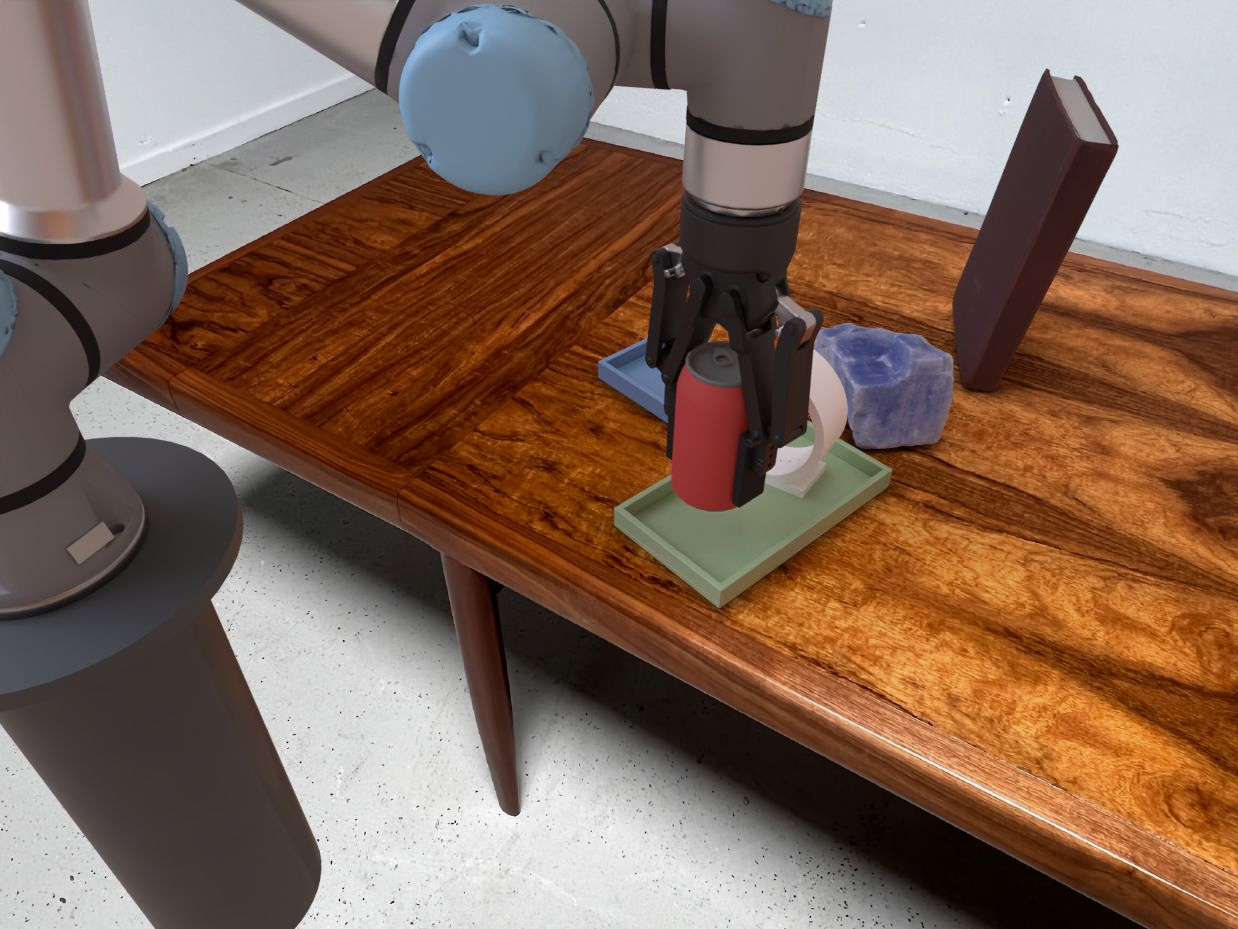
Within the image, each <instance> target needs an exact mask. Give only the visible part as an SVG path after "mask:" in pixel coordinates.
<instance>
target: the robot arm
mask: <svg viewBox="0 0 1238 929" xmlns="http://www.w3.org/2000/svg"><path fill="white" fill-rule="evenodd" d="M234 1H235V2H237V3H238V4H240V5H241V6H243V7H245V8H247V9H248V10H250V11H252V12H253V13H254V14H256V15H258V16H259V17H261V18H262V19H264V20H266V21H267V22H269V23H270V24H272V25H274V26H276V27H277V28H279V29H280V30H282V31H284V32H285V33H287V34H288V35H290V36H292V37H293V38H295V39H296V40H298V41H299V42H301V43H303V44H305V45H306V46H308V47H309V48H311V49H312V50H314V51H315V52H317V53H319V54H321V55H322V56H324V57H326V58H327V59H328V60H331V61H332V62H334V63H335V64H337V65H338V66H340V67H342V68H343V69H345V70H347V71H348V72H350V73H351V74H353V75H355V76H356V77H358V78H359V79H361V80H362V81H364V82H365V83H368V85H371V86H372V87H374V88H375V89H377V90H378V91H380V92H381V93H383V94H385V95H386V96H388V97H389V98H390V99H392V100H393V101H394V102H396V103H397V104H398V105H399V111H400V116H401V120H402V123H403V125H404V129H405V132H406V134H407V136H408V138H409V140H410V141H411V143H412V144H413V145H414V146H415V148H416V149H417V151H418V152H419V154H420V155H421V156H422V158H423V159H424V160H425V161H426V163H427V164H428V165H427V166H428V168H430V169H431V170H432V171H433V172H434V173H435V174H437V175H438V176H440V177H441V178H442V179H443V180H445V181H446V182H448V183H450V184H451V185H453V186H455V187H457V188H460V189H461V190H464V191H467V192H470V193H474V194H479V195H484V196H485V195H486V196H505V195H506V196H507V195H513V194H515V193H516V194H517V193H519V192H520V193H521V192H522V191H524V190H526V189H527V190H528V189H530V188H531V187H532V186H534V185H536V184H538V183H539V182H541V181H542V180H543V179H545V177H547V175H549V174H550V173H551V172H552V171H553V170H554V168H556V166H558V164H559V163H560V162H562V161H563V160H565V159H566V157H567V156H568V155H569V153H570V152H571V151H572V150H573V149H574V148H577V147H578V146H579V145H580V144H581V141H582V140H583V138H584V137H585V135H586V133H587V132H588V130H589V128H590V125H591V120H592V118H593V117H594V115H595V114H596V112H597V110H598V109H599V107H600V106H601V105H602V104H603V102H604V101H605V100H606V99H607V98H608V96H609V95H610V93H611V91H613V89H614V87H625V88H636V89H637V88H638V89H648V90H649V89H650V90H651V89H652V90H662V91H663V90H664V91H671V90H679V91H684V92H686V103H687V104H686V110H685V112H686V113H685V133H684V134H685V135H684V145H683V146H684V148H683V161H682V174H681V185H682V186H683V187H684V191H683V192H682V193H681V198H680V213H679V214H680V215H679V231H678V240H676V241H674V242H671V243H669V244H666V245H663V246H661V247H659V248H657V249H653V250H652V251H651V253H650V262H651V269H652V276H653V286H652V295H651V304H650V312H649V320H648V330H647V337H646V338H647V346H646V354H645V361H646V364H647V365H648V366H649V367H650V368H651V369H654V368H657V369H658V370H659V371H660V372H661V379H662V381H663V383H664V384H665V393H664V397H665V398H664V411H665V414H666V415H667V416H668V423H667V426H666V427H667V429H666V430H667V431H666V443H665V444H666V446H665V450H666V451H665V457H666V458H667V459H669V460H670V461H672V455H673V439H674V423H675V407H676V390H677V382H678V379H679V376H680V373H681V371H682V369H683V367H684V365H685V363H686V361H685V360H686V357H687V355H688V353H689V352H690V351H691V350H692V349H693V348H695V347H696V346H699V345H701V344H703V343H707V342H708V341H710V338H711V336H712V334H713V332H714V329H715V328H716V325H717V324H718V325H719V326H721V327H722V328H723V329H724V330H725V331H726V332H727V335H728V341H729V342H730V347H731V349H732V351H735V352H736V353H737V357H738V363H739V369H740V375H741V381H742V388H743V394H744V400H745V406H746V412H747V418H748V425H749V430H748V431H747V432H745V433H743V434H741V435H740V440H739V449H738V457H737V465H736V473H735V481H734V490H733V498H732V503H733V504H734V505H735V506H737V507H738V508H740V507H742V506H743V505H745V504H746V503H748V502H749V501H751V500H753V499H754V498H756V497H757V496H759V495H760V494H762V493H763V492H764V485H765V478H766V472H768V471H769V470H771V469H773V467H774V466H775V464H776V458H777V452H778V448H782V447H784V446H786V445H787V444H789V443H791V442H792V441H794V440H795V439H797V438H799V437H800V436H802V435H804V434H805V433H806V431H807V422H808V421H809V412H808V410H809V398H810V386H811V374H812V362H813V350H815V341H816V339H817V336H818V333H819V331H820V330H821V328H822V326H823V324H824V321H825V316H824V314H823V312H822V311H821V309H819V308H817V307H812V308H810V309H808V310H806V309H805V308H803V307H802V306H801V305H799V304H798V303H797V302H796V301H795V300H793V299H792V298H791V289H790V285H789V281H788V274H787V273H788V269H789V266H790V264H791V261H792V259H793V258H794V255H795V252H796V249H797V244H798V236H799V228H800V223H801V216H802V209H803V203H802V200H801V198H800V196H801V195H802V194H803V193H804V189H805V185H806V180H807V172H808V164H809V159H810V158H809V157H810V150H811V144H812V137H813V131H814V130H813V129H814V122H815V116H816V110H817V105H818V104H817V103H818V98H819V92H820V86H821V81H822V80H821V78H822V74H823V66H824V60H825V54H826V48H827V43H828V42H827V41H828V35H829V31H830V30H829V29H830V24H831V23H830V22H831V17H832V12H833V2H834V0H234ZM98 53H99V52H98V48H97V41H96V37H95V31H94V26H93V21H92V15H91V11H90V5H89V0H0V621H2V620H15V619H22V618H27V617H32V616H37V615H40V614H44V613H47V612H51V611H54V610H57V609H59V608H62V607H65V606H67V605H69V604H72V603H74V602H76V601H78V600H80V599H82V598H84V597H86V596H88V595H90V594H91V593H93V592H95V591H96V590H98V589H99V588H101V587H103V586H104V585H106V584H107V583H108V582H110V581H111V580H112V579H114V578H115V577H116V576H117V575H118V574H119V573H121V572H122V571H123V570H124V569H125V568H126V567H127V566H128V565H129V564H130V562H131V561H132V560H133V559H134V558H135V556H136V555H137V554H138V552H139V551H140V549H141V547H142V546H143V543H144V541H145V539H146V536H147V533H148V527H149V520H148V515H147V512H146V509H145V507H144V505H143V503H142V501H141V499H140V497H139V495H138V494H137V493H136V491H135V490H134V488H133V487H132V486H131V485H130V483H128V482H127V481H126V480H125V479H124V478H123V477H122V476H121V475H120V474H119V473H118V472H116V471H115V470H114V469H113V468H112V467H111V466H110V465H109V464H108V463H107V462H106V461H104V460H103V459H102V458H101V457H100V456H99V455H98V454H97V453H96V452H95V451H93V450H92V449H91V448H90V447H89V446H88V445H87V444H86V442H85V440H86V439H85V438H84V435H83V434H82V431H81V429H80V428H79V424H78V423H77V421H76V418H75V417H74V415H73V413H72V410H71V408H70V405H71V402H72V401H73V400H74V399H76V397H77V396H78V395H80V394H81V393H82V392H83V391H84V390H85V389H87V388H88V387H89V386H90V385H91V384H92V383H94V382H95V381H96V380H98V379H99V378H100V377H101V376H102V375H104V374H105V373H106V372H108V370H110V369H111V368H112V367H113V366H114V365H115V364H117V363H118V362H119V361H120V360H122V359H123V358H124V357H125V356H126V355H127V354H129V353H130V352H131V351H132V350H133V349H134V348H136V347H137V346H138V345H139V344H141V343H142V342H144V340H146V339H147V338H148V337H150V336H151V335H152V334H153V333H154V332H156V331H158V329H160V328H161V327H162V326H163V325H164V323H165V322H166V321H167V319H168V318H169V317H170V315H171V313H173V312H174V311H175V310H176V309H177V307H178V306H179V304H180V303H181V301H182V300H183V298H184V296H185V293H186V289H187V286H188V282H189V281H188V280H189V264H188V263H189V262H188V258H187V257H188V256H187V252H186V249H185V247H184V244H183V241H182V239H181V237H180V235H179V233H178V232H177V230H176V228H175V227H174V226H168V224H166V222H165V221H164V220H165V218H166V215H165V214H164V212H162V210H161V209H160V208H159V207H158V206H157V205H156V204H154V203H153V202H152V201H151V200H150V199H148V198H147V194H146V192H145V190H144V189H143V188H142V187H141V185H140V184H138V183H137V182H136V181H134V180H133V179H131V178H130V177H129V176H127V175H125V174H123V172H121V170H120V165H119V159H118V154H117V149H116V144H115V138H114V133H113V127H112V121H111V116H110V112H109V107H108V100H107V95H106V90H105V84H104V80H103V74H102V69H101V64H100V58H99V54H98ZM688 293H689V294H688ZM777 320H778V321H777ZM777 322H778V323H777ZM777 338H778V339H777ZM776 339H777V341H776V344H775V340H776ZM663 344H664V346H663ZM662 346H663V347H662Z"/></svg>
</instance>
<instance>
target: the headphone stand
mask: <svg viewBox="0 0 1238 929" xmlns="http://www.w3.org/2000/svg"><path fill="white" fill-rule="evenodd" d="M847 414H848V406H847V399H846V394H845V391H844V388H843V386H842V383H841V381H840V379H839V377H838V376H837V374H836V372H835V371H834V369H833V368H832V367H831V365H830V364H829V363H828V362H827V361H826V360H825V359H824V358H823V357H822V356H821V355H820V354H819V353H818V352H817V351H815V349H814V350H813V362H812V374H811V386H810V398H809V410H808V415H809V417H810V419H811V422H812V423H813V427H814V435H815V436H814V445H812V446H809V447H802V448H794V447H787V446H784V447H782V448H778V452H777V458H776V464H775V466H774V467H773V469H771V470H769V471H768V472H766V478H765V483H766V484H768V485H771V486H773V487H775V488H778V489H780V490H783V491H785V492H787V493H790V494H792V495H795V496H797V497H799V498H802V499H803V497H804V496H805V495H806V494H807V492H808V491H809V490H810V489H811V487H812V486H813V485H814V484H815V482H816V481H817V480H818V479H819V478H820V476H821V475H822V474H823V473H824V471H825V469H826V464H827V463H825V462H822V461H820V460H821V459H822V458H823V457H824V456H825V454H826V453H827V452H828V451H829V450H830V448H831V447H832V446H833V445H834V444H835V442H836V441H837V440H838V439H840V438H841V436H842V434H843V432H844V430H845V427H846V426H847V425H846V424H847V421H848V417H847Z"/></svg>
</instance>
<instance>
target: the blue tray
mask: <svg viewBox="0 0 1238 929" xmlns="http://www.w3.org/2000/svg"><path fill="white" fill-rule="evenodd" d="M708 342H712V341H711V340H709V341H708ZM646 346H647V337H646V338H644V339H642V340H640V341H638V342H636V343H634V344H631V345H630V346H627V347H625V348H623V349H621V350H619V351H617V352H615V353H613V354H611V355H609V356H607V357H604V358H602V359H600V360H598V361H597V373H598V374H597V378H598V379H599V380H601V381H603V382H604V383H606V384H607V385H608V386H610V387H611V388H613V389H614V390H616V391H618V392H619V393H621V394H622V395H624V396H625V397H627V398H628V399H630V400H631V401H633V402H634V403H636V404H637V405H639V406H640V407H642V408H643V409H644V410H647V411H648V412H650V413H651V414H652V415H654V416H655V417H657V418H658V419H660V420H661V421H663V422H665V423H666V424H668V416H667V415H666V414H665V411H664V398H665V397H664V393H665V384H664V383H663V381H662V379H661V372H660V371H659V370H658V369H657V368H654V369H651V368H650V367H649V366H648V365H647V364H646V361H645V354H646ZM663 346H664V344H663ZM663 346H662V347H663Z"/></svg>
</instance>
